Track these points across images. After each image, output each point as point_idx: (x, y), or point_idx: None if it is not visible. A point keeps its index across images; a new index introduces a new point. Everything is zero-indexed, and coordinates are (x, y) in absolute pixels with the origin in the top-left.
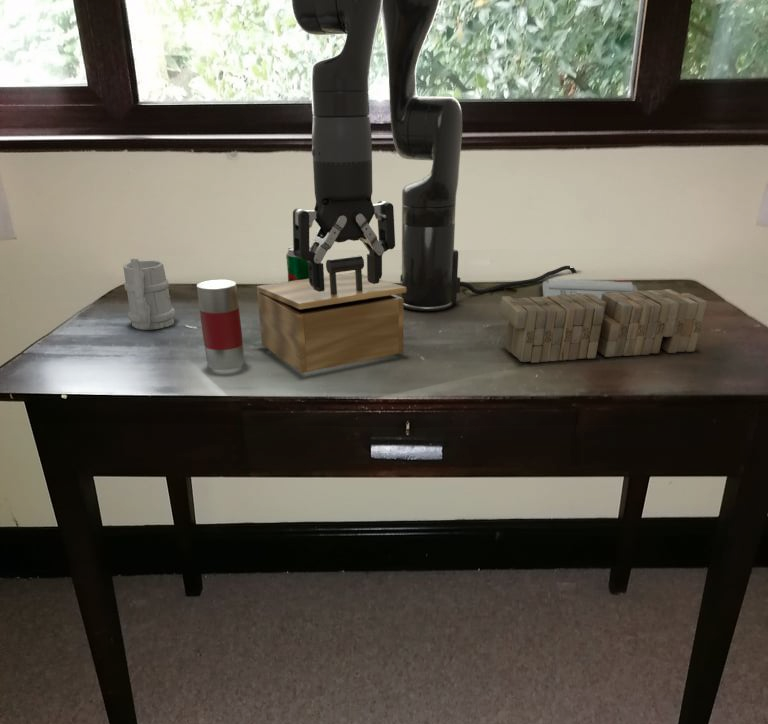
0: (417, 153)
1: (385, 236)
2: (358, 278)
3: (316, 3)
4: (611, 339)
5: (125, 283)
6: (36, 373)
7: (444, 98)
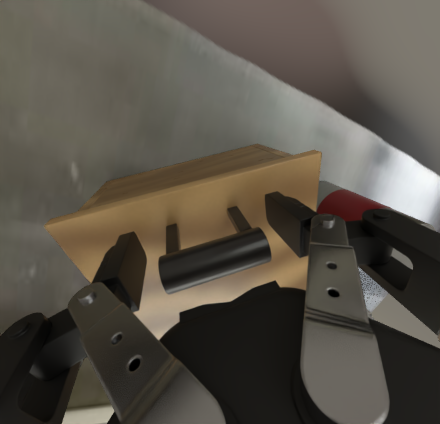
0: None
1: (38, 390)
2: (175, 239)
3: None
4: None
5: None
6: (430, 224)
7: None
